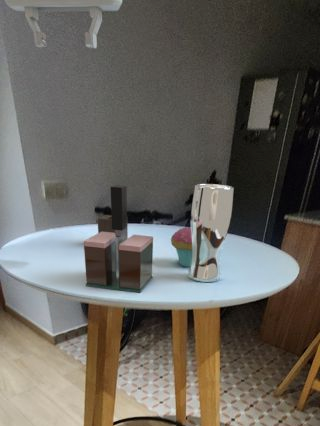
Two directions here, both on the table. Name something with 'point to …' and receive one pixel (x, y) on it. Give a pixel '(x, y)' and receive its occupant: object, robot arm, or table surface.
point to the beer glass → (209, 229)
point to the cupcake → (183, 245)
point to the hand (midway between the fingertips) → (66, 47)
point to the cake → (128, 262)
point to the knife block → (108, 225)
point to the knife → (118, 219)
